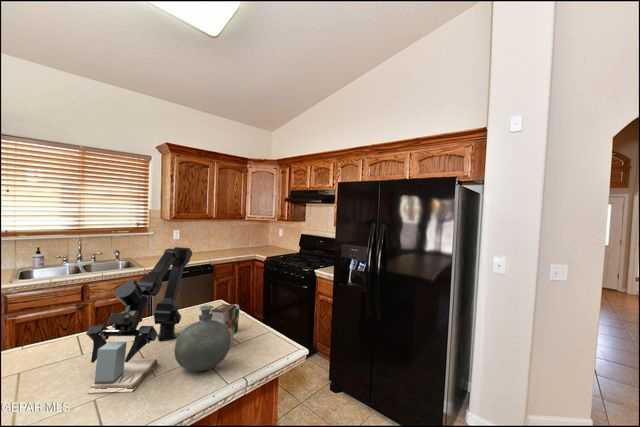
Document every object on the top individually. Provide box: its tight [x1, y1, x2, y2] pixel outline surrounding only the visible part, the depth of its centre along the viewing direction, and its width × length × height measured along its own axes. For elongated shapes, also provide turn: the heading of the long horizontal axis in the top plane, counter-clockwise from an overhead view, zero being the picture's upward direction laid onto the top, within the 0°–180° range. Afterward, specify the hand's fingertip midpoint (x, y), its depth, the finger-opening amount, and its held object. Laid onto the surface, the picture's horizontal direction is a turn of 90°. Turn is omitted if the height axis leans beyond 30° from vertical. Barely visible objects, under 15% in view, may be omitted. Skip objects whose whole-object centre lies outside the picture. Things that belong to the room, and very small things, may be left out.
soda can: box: [234, 304, 241, 334], centre depth 121 cm, size 5×5×12 cm
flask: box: [174, 304, 232, 372], centre depth 89 cm, size 12×17×22 cm
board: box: [89, 358, 159, 389], centre depth 82 cm, size 16×12×2 cm
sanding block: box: [93, 341, 128, 384], centre depth 78 cm, size 5×5×10 cm
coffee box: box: [210, 303, 237, 346], centre depth 106 cm, size 9×6×16 cm
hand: (109, 362), depth 77 cm, fingers open, 9 cm apart
